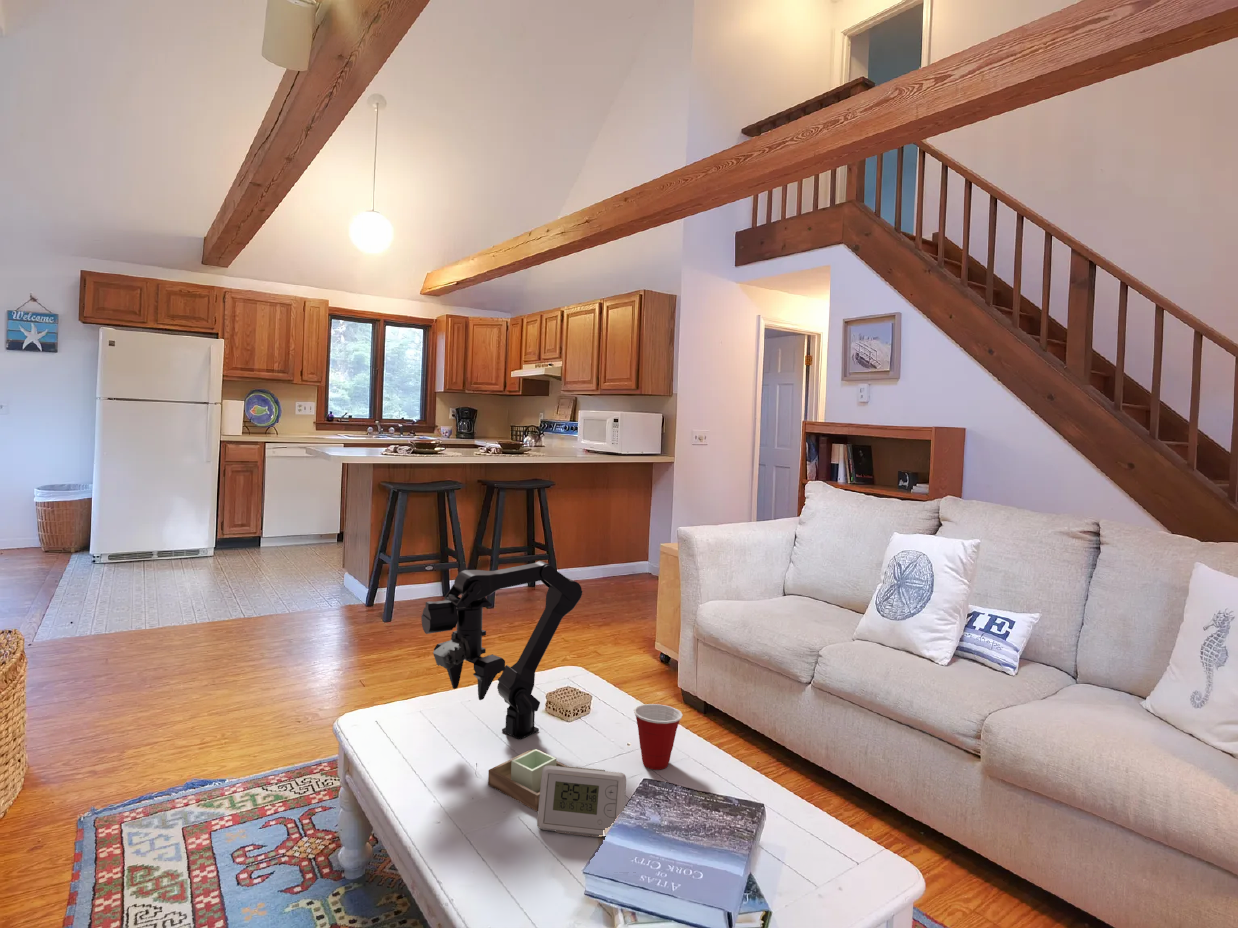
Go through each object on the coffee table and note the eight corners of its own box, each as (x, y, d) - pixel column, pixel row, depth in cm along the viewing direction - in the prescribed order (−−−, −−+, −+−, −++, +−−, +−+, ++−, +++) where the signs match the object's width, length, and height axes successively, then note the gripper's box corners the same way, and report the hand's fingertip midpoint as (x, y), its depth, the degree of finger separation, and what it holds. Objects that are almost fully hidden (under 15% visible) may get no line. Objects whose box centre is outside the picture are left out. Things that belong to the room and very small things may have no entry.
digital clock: (531, 830, 128) (533, 774, 128) (552, 805, 137) (553, 752, 136) (615, 851, 123) (617, 793, 122) (630, 823, 132) (632, 769, 131)
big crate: (531, 763, 153) (531, 749, 153) (579, 786, 144) (579, 771, 144) (488, 784, 143) (488, 769, 143) (536, 811, 134) (537, 795, 134)
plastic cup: (687, 759, 157) (690, 707, 156) (668, 780, 148) (671, 725, 147) (644, 746, 162) (646, 696, 161) (623, 766, 153) (625, 713, 152)
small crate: (535, 771, 148) (536, 748, 148) (555, 781, 144) (556, 758, 144) (510, 784, 143) (511, 760, 142) (531, 795, 139) (532, 770, 139)
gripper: (414, 625, 158) (413, 692, 159) (467, 644, 146) (466, 717, 147) (454, 615, 166) (453, 679, 167) (507, 633, 155) (505, 701, 156)
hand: (467, 693), depth 159 cm, fingers open, 9 cm apart
